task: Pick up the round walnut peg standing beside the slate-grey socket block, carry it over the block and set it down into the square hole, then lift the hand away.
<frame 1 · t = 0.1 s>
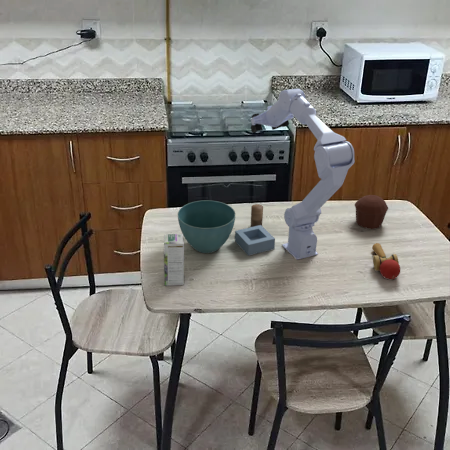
hand: (262, 128, 194), 32 cm above the table, tool tilted 50°, fingers open, 7 cm apart
teal bowl: (206, 247, 188), on the table
muffin: (368, 223, 204), on the table
kendama: (382, 266, 180), on the table
socket: (254, 245, 189), on the table
peg: (256, 227, 200), on the table
syrup box: (174, 280, 172), on the table
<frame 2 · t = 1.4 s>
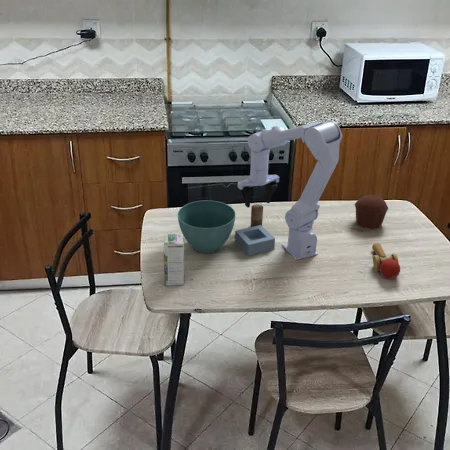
hand: (257, 204, 195), 9 cm above the table, tool pointing down, fingers open, 7 cm apart
nothing on the table moved.
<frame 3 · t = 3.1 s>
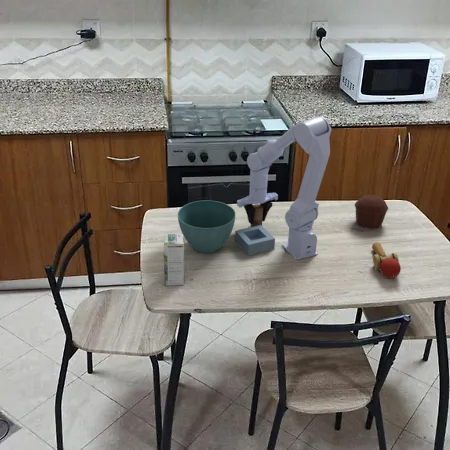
hand: (256, 221, 198), 2 cm above the table, tool pointing down, fingers closed on peg, 4 cm apart
peg: (256, 227, 200), on the table, touching gripper
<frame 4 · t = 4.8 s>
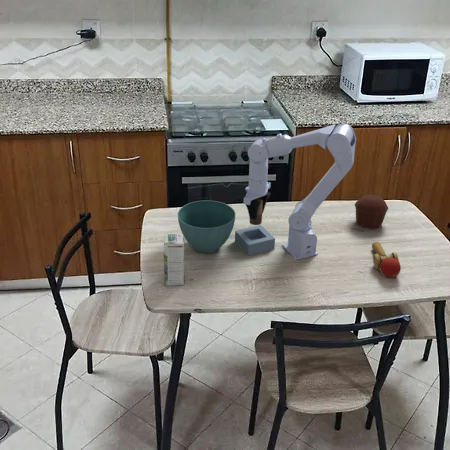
hand: (256, 215, 187), 9 cm above the table, tool pointing down, fingers closed on peg, 4 cm apart
peg: (255, 222, 189), point 7 cm above the table, touching gripper
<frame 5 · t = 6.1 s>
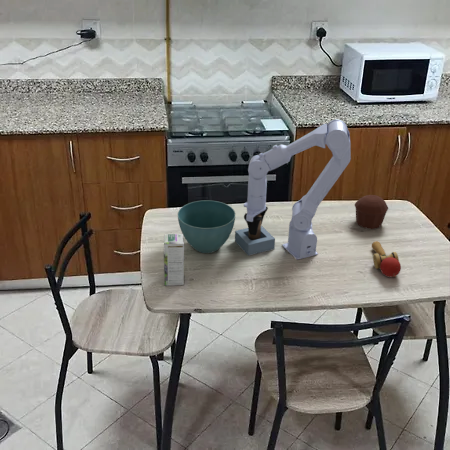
hand: (255, 230, 187), 5 cm above the table, tool pointing down, fingers closed on peg, 4 cm apart
peg: (254, 237, 188), point 3 cm above the table, touching gripper
when the fingers open (5 cm above the table, at t = 6.8 s): peg drops 2 cm, resting on socket.
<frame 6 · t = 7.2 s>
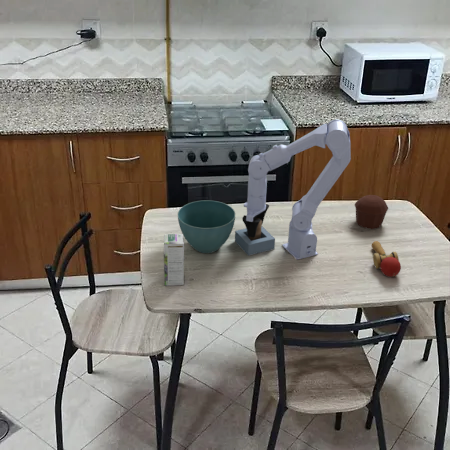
hand: (255, 230, 187), 5 cm above the table, tool pointing down, fingers open, 7 cm apart
peg: (254, 242, 189), point 1 cm above the table, touching socket
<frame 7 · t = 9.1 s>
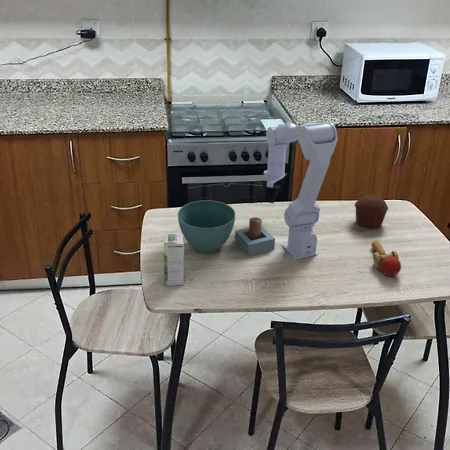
hand: (274, 197, 199), 9 cm above the table, tool pointing down, fingers open, 7 cm apart
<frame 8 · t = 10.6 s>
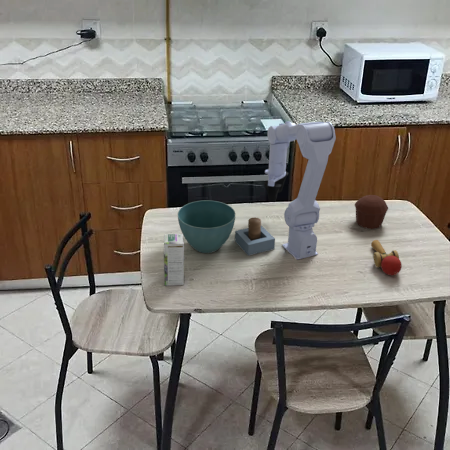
hand: (275, 196, 199), 9 cm above the table, tool pointing down, fingers open, 7 cm apart
at the end: peg 0.2 cm off-centre on the socket, point 1.1 cm above the socket's base; the gripper is holding nothing; peg tilted 2° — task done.
